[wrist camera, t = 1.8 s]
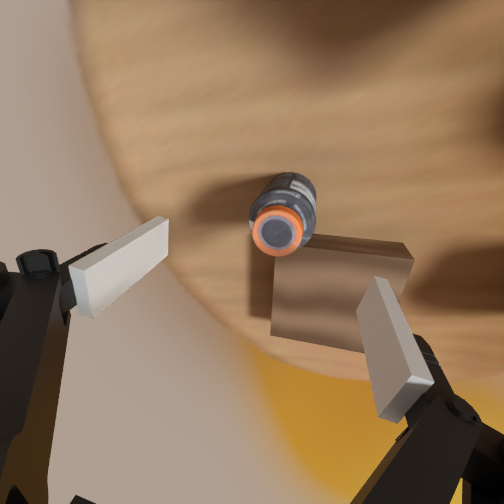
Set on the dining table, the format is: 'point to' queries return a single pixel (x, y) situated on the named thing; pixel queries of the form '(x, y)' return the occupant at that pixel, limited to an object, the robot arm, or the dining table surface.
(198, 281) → the dining table surface
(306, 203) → the pill bottle
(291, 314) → the walnut block
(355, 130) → the dining table surface
